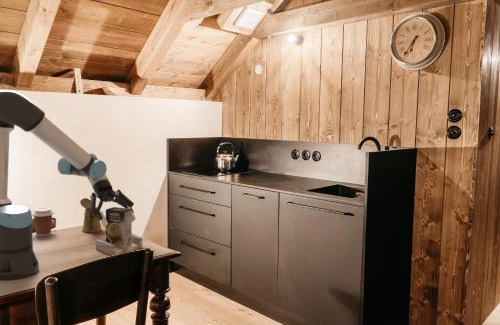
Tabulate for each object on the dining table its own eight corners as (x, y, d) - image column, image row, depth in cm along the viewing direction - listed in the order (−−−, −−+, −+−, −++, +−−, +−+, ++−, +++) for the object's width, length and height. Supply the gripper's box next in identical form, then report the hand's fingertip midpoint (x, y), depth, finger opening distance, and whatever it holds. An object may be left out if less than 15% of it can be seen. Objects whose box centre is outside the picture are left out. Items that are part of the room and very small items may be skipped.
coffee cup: (31, 233, 203) (31, 208, 202) (52, 230, 208) (51, 206, 207) (34, 237, 196) (33, 212, 194) (55, 235, 201) (54, 210, 199)
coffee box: (105, 246, 180) (104, 209, 179) (113, 242, 187) (113, 206, 185) (124, 249, 178) (124, 211, 176) (132, 244, 184) (132, 208, 183)
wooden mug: (75, 235, 201) (74, 197, 199) (86, 228, 214) (85, 192, 213) (94, 235, 201) (94, 198, 199) (104, 228, 215) (103, 193, 213)
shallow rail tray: (112, 255, 173) (112, 245, 173) (95, 249, 180) (95, 239, 180) (142, 247, 185) (142, 238, 184) (125, 242, 192) (125, 233, 192)
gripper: (121, 186, 201) (140, 222, 193) (70, 192, 182) (90, 233, 174) (128, 176, 197) (148, 213, 189) (77, 181, 178) (97, 222, 170)
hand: (120, 223), depth 181 cm, fingers open, 13 cm apart
